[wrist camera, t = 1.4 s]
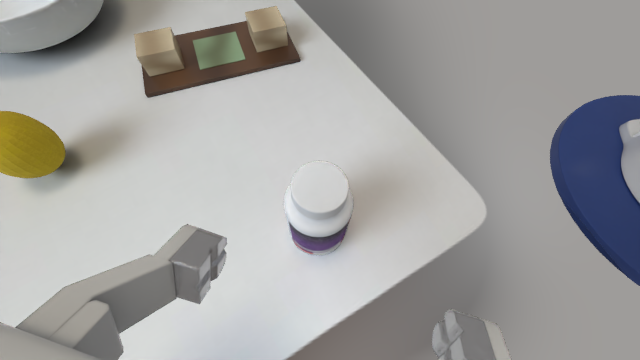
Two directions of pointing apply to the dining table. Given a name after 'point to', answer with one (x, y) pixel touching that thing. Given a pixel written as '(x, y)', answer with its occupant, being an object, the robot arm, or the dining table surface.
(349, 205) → the pill bottle
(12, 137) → the lemon
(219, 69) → the word board
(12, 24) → the serving bowl
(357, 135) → the dining table surface
